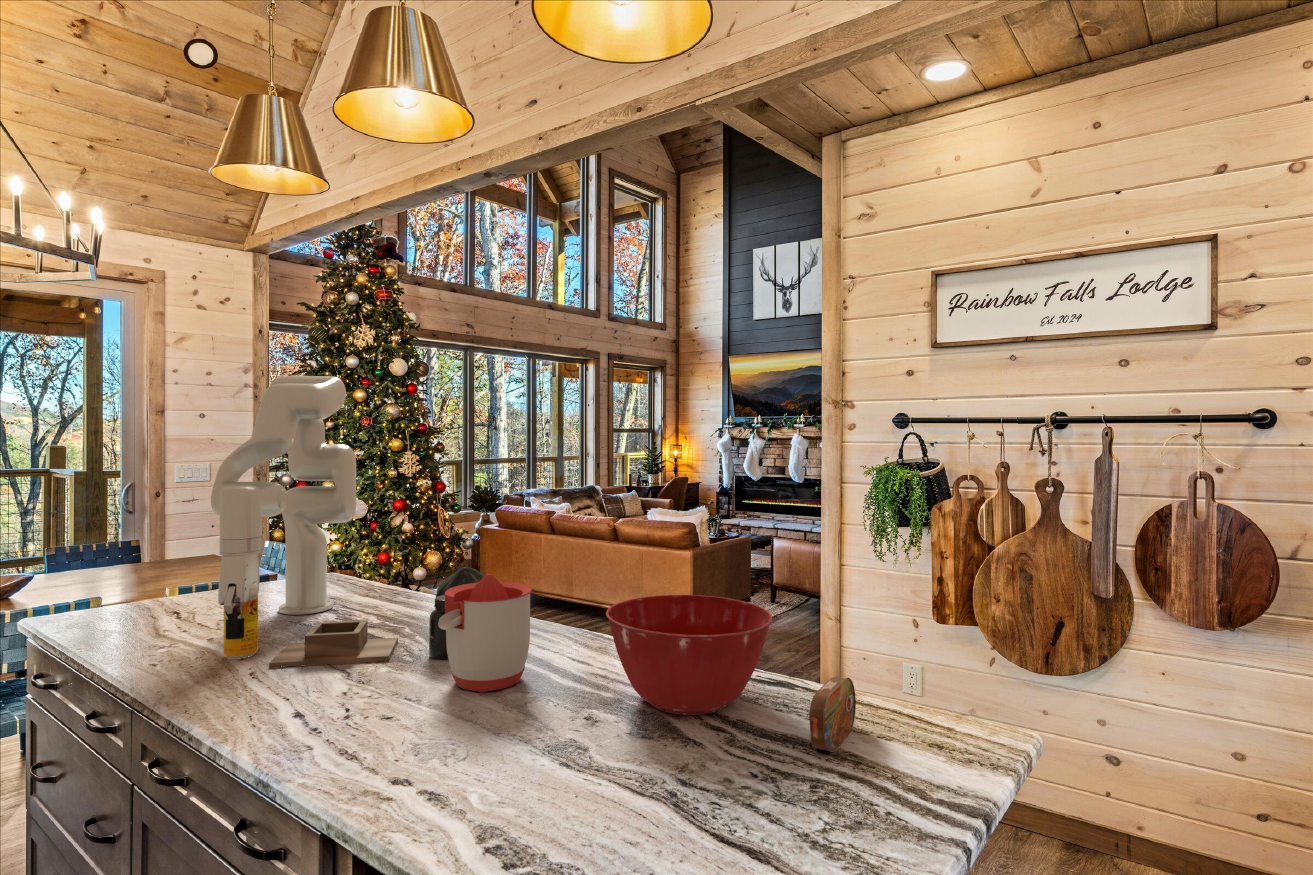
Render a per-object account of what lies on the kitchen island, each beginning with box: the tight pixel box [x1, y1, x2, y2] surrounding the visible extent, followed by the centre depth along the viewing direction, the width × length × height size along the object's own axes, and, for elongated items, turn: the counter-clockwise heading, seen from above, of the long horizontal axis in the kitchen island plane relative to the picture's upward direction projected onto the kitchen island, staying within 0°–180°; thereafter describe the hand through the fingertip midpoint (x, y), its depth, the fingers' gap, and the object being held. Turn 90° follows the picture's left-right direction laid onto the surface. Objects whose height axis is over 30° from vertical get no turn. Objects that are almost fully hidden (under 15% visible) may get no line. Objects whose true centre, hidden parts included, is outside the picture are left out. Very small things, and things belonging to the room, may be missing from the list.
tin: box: [808, 676, 857, 753], centre depth 108 cm, size 15×3×8 cm, turn 148°
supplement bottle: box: [428, 595, 449, 661], centre depth 147 cm, size 7×7×12 cm
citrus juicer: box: [438, 573, 533, 693], centre depth 131 cm, size 16×17×20 cm
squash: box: [434, 566, 486, 610], centre depth 170 cm, size 14×15×15 cm
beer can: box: [223, 581, 259, 660], centre depth 146 cm, size 6×6×15 cm
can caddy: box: [268, 619, 399, 668], centre depth 147 cm, size 13×22×6 cm, turn 102°
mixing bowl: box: [605, 594, 773, 716], centre depth 123 cm, size 28×28×16 cm
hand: (241, 632), depth 146 cm, fingers closed on beer can, 6 cm apart
